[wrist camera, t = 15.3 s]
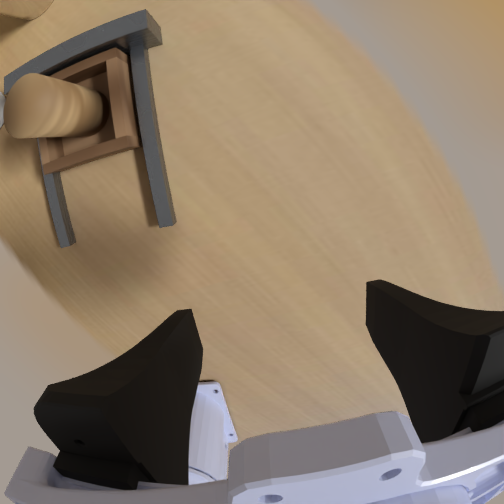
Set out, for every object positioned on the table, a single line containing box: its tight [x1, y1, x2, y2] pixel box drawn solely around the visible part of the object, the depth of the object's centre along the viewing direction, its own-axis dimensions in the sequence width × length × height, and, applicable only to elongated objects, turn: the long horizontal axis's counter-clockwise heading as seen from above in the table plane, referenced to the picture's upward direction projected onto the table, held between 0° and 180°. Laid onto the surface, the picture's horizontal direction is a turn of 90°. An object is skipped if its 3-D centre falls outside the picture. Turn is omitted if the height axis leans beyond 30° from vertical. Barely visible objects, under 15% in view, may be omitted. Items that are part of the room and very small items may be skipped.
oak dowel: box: [3, 73, 110, 138], centre depth 14 cm, size 4×4×8 cm
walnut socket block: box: [38, 47, 142, 175], centre depth 17 cm, size 7×7×3 cm
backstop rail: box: [4, 9, 176, 248], centre depth 17 cm, size 14×12×4 cm
